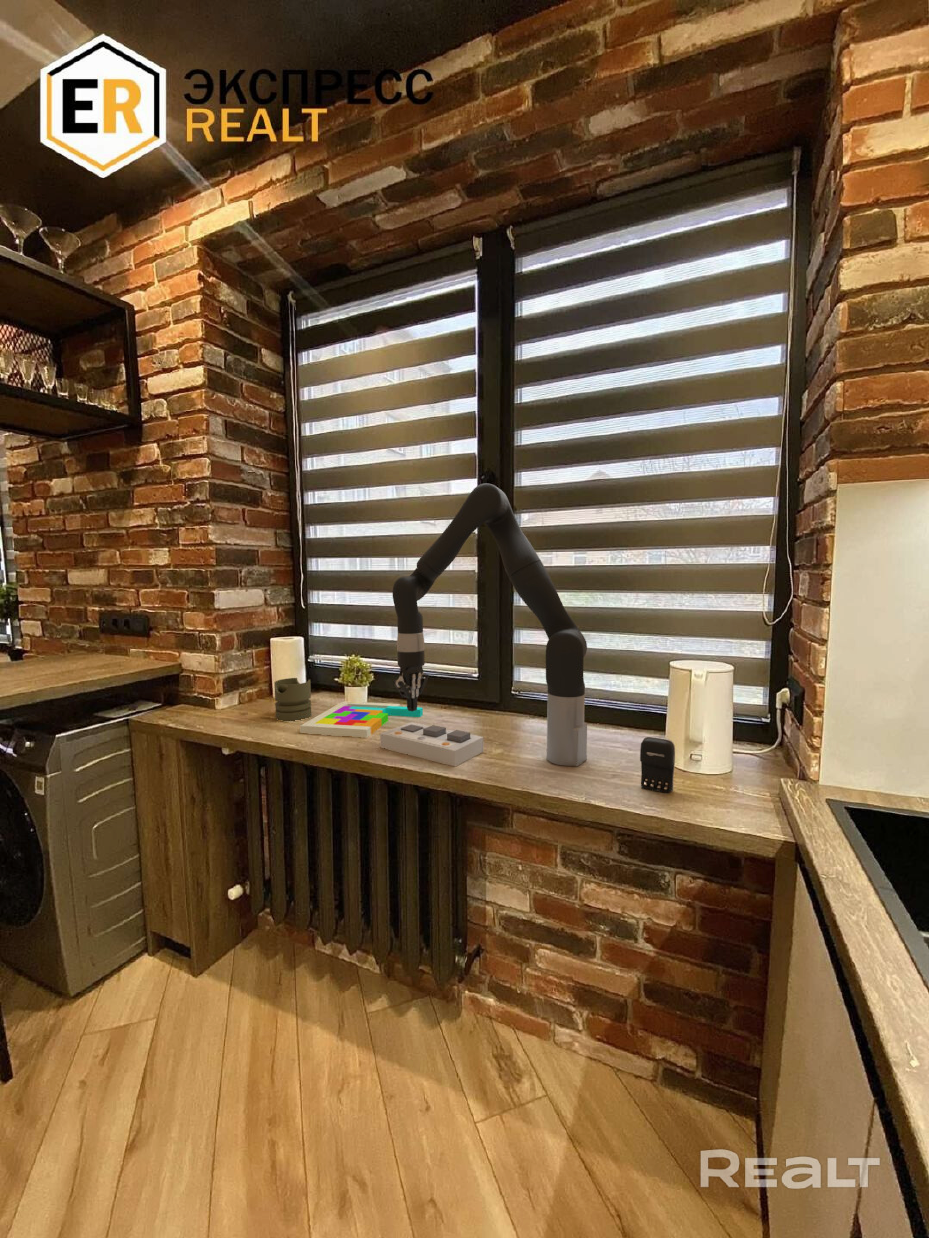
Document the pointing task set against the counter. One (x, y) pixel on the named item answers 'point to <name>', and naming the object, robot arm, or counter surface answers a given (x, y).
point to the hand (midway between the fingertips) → (412, 710)
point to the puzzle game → (355, 719)
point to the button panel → (431, 745)
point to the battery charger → (657, 764)
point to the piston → (292, 699)
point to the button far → (411, 728)
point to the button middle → (434, 731)
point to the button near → (458, 736)
